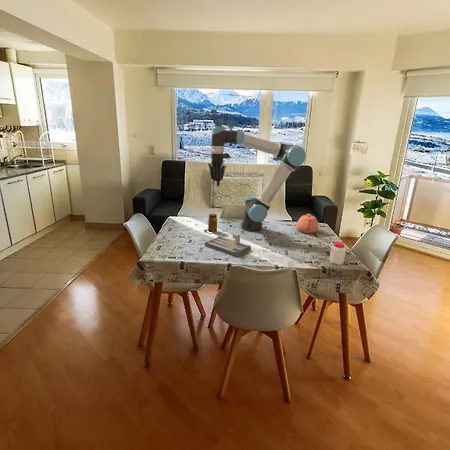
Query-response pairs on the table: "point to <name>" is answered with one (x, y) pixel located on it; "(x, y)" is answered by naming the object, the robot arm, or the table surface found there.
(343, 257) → the pill bottle
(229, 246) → the block
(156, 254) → the table surface
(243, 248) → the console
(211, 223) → the condiment
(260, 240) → the table surface
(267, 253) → the table surface
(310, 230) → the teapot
